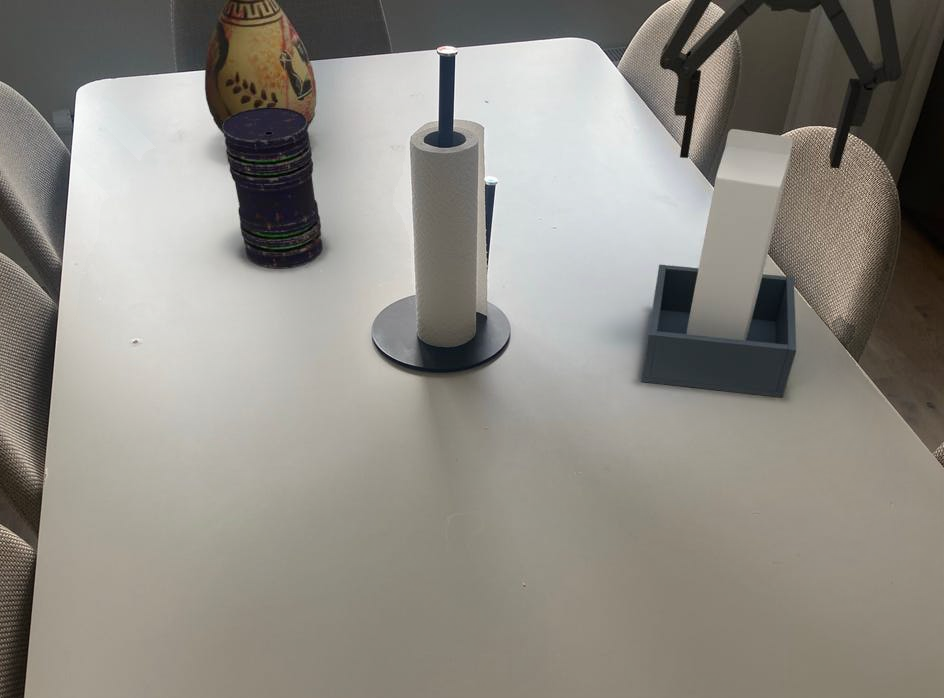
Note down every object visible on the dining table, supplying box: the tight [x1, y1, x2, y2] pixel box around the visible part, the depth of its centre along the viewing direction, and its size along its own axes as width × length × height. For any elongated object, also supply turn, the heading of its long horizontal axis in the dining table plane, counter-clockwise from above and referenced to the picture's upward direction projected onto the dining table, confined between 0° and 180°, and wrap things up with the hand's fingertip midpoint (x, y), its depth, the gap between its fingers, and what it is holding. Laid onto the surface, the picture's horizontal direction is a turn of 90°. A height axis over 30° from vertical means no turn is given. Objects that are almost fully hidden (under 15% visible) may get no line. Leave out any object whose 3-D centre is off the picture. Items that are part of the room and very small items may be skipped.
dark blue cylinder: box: [222, 107, 324, 270], centre depth 114 cm, size 10×10×15 cm
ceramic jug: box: [204, 0, 317, 135], centre depth 128 cm, size 17×15×30 cm
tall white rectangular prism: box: [686, 128, 794, 340], centre depth 95 cm, size 6×6×22 cm
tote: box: [641, 264, 797, 398], centre depth 101 cm, size 15×15×6 cm
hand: (758, 157), depth 88 cm, fingers open, 13 cm apart
